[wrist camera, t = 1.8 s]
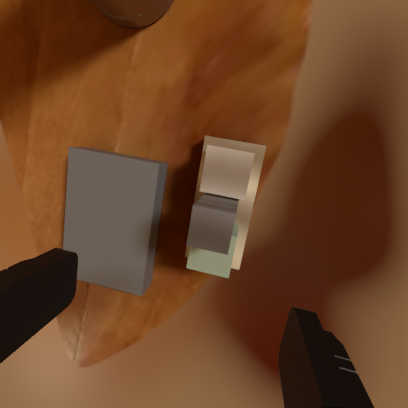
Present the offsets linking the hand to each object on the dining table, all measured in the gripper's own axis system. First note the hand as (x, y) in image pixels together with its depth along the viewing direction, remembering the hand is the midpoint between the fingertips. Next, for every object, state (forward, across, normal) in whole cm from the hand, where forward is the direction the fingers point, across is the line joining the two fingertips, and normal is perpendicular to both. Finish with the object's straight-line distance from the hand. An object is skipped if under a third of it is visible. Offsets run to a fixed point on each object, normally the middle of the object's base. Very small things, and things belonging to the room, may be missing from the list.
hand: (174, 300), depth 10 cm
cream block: (+18, 0, -4) cm, 18 cm away
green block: (+18, 0, +4) cm, 18 cm away
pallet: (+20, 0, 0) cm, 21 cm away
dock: (+20, +12, +4) cm, 24 cm away
